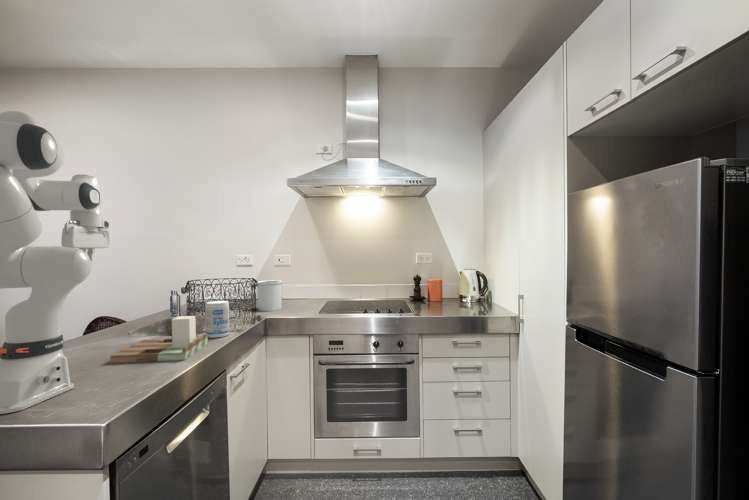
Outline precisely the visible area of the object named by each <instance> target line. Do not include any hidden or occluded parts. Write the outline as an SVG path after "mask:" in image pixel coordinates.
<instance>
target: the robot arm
mask: <svg viewBox="0 0 749 500" xmlns="http://www.w3.org/2000/svg"><path fill="white" fill-rule="evenodd" d="M64 162H65V153H64V152H63V148H62V147H61V145H60V144H59V142H58V141H57V139H55V138H54V136H53V134H52V133H51V132H50V131H48V129H47V128H45V126H43V125H42V124H41V123H40V122H39V121H38V120H37V119H35V118H34V117H33V116H31V115H29V114H28V113H25V112H23V111H16V110H9V111H3V112H0V290H1V289H2V290H3V289H20V288H21V289H23V288H26V289H27V288H31V291H30V295H29V297H28V298H27V299H26V300H24V301H21V302H19V303H16V304H14V305H13V306H11V307H10V308H9V309H8V310H7V312H6V313H5V315H4V327H5V328H4V329H5V330H4V333H5V335H4V336H5V341H4V342H3V344H2V347H0V415H3V414H8V413H15V412H20V411H22V410H25V409H28V408H29V407H33V406H34V405H37V404H40V403H43V401H46V400H49V399H51V398H53V397H56V396H58V395H60V394H63V393H65V392H67V391H70V390H73V389H74V388H75V384H74V383H73V382H72V381H71V379H70V370H69V364H68V363H69V362H68V358H67V357H66V356H65V354H64V352H63V348H64V341H65V340H64V335H63V334H62V312H63V306H64V304H65V301H66V299H67V297H68V296H69V294H70V293H71V291H73V290H74V289H75V288H76V287H77V286H78V285H80V284H81V283H82V282H84V281H86V279H87V278H88V277H89V276H90V273H91V271H92V261H93V259H94V257H93V256H94V255H95V250H96V249H108V248H109V247H110V239H111V237H110V235H111V234H110V230H109V229H110V228H111V223H110V222H109V221H107V220H106V219H105V218H103V215H102V214H103V213H102V210H101V204H102V190H101V186H100V182H99V181H100V180H98V178H96V177H94V176H91V175H88V174H74V175H73V176H72V177H71V180H47V179H41V178H42V177H48V176H51V175H53V174H55V173H56V172H58V171H59V170H60V168H62V165H63V164H64ZM45 211H46V212H47V211H48V212H49V211H70V212H69V213H70V215H69V216H70V217H69V218H70V220H67V221H66V222H65V223H64V225H63V228H62V231H61V242H60V243H61V246H60V245H59V246H58V245H57V246H33V245H31V244H32V243H33V242H35V241H36V240H37V239H39V237H40V236H41V233H42V230H43V225H42V222H41V221H40V219H39V216H38V214H37V212H45ZM29 245H30V246H29Z"/></svg>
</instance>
